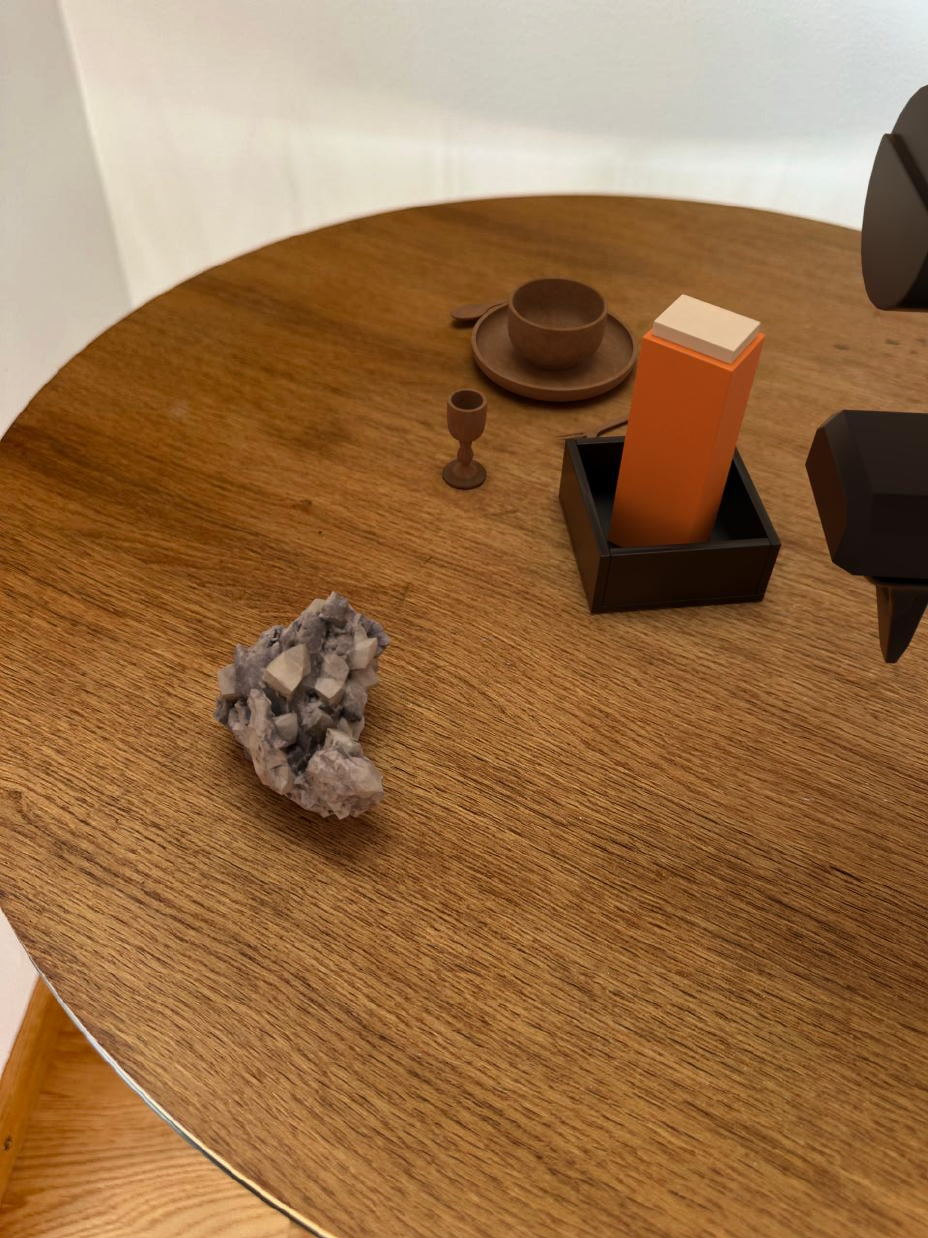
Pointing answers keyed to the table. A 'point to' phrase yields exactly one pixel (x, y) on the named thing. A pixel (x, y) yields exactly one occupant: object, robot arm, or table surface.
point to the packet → (683, 423)
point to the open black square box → (662, 572)
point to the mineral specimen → (308, 707)
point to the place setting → (539, 358)
